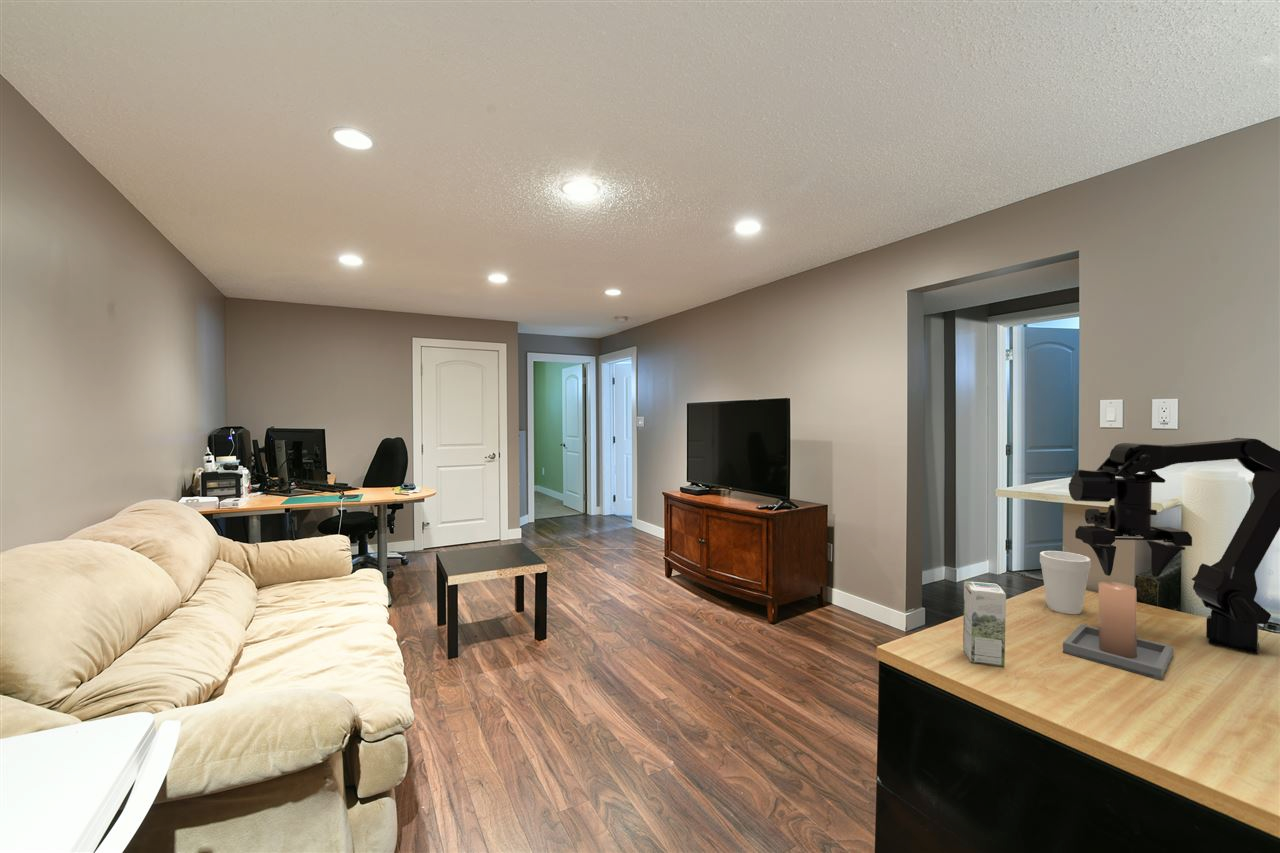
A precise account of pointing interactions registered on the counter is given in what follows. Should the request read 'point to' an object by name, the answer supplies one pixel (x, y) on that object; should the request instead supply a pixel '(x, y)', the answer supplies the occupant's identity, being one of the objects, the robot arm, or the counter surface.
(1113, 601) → the peach rounded cylinder
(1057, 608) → the foam cup
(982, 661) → the syrup box
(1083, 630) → the tray
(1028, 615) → the counter surface
